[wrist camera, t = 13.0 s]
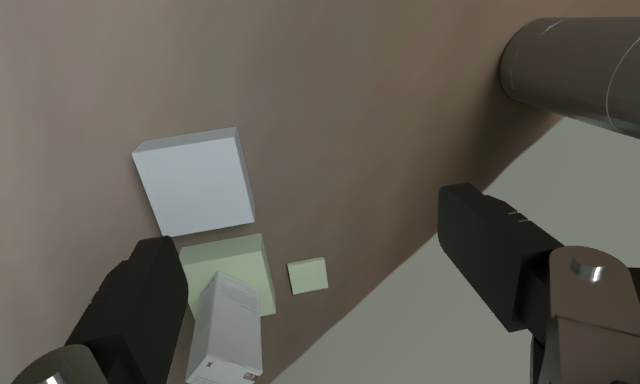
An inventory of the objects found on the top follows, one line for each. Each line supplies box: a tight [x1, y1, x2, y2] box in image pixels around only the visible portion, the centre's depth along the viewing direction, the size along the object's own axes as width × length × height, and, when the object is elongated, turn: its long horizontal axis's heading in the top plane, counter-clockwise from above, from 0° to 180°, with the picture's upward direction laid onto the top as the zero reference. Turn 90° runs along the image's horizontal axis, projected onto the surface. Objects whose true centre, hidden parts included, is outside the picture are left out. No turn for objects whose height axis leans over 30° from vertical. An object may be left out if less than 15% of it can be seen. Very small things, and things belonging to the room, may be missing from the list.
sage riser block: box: [179, 233, 276, 321], centre depth 45 cm, size 10×10×4 cm
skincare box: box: [185, 271, 263, 384], centre depth 38 cm, size 6×4×12 cm
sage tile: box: [287, 257, 328, 294], centre depth 49 cm, size 5×5×1 cm
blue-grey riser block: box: [131, 126, 255, 237], centre depth 39 cm, size 10×10×4 cm
